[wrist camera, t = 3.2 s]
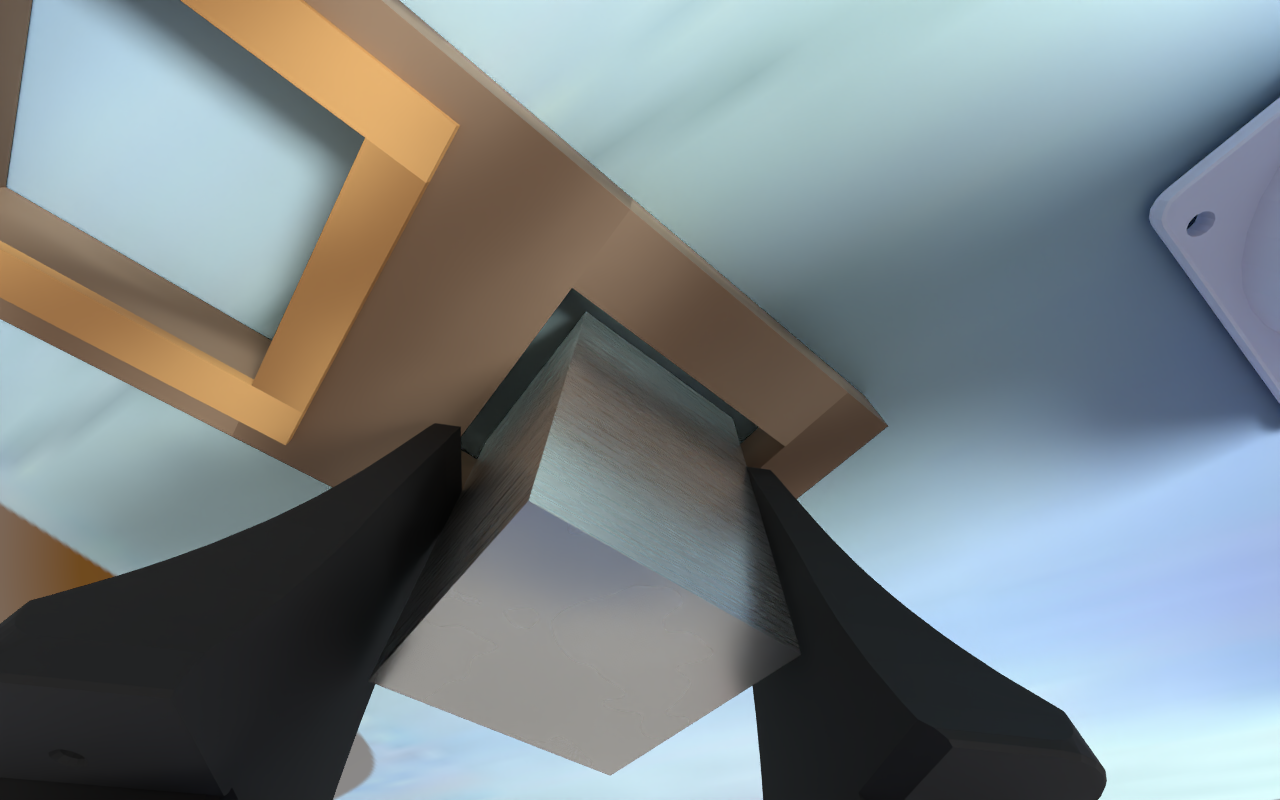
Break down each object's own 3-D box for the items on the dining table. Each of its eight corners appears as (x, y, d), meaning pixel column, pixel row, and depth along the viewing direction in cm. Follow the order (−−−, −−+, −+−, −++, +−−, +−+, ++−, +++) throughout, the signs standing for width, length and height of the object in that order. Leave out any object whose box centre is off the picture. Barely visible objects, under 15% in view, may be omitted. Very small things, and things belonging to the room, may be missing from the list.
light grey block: (732, 417, 14) (801, 654, 8) (624, 522, 16) (610, 775, 10) (586, 311, 12) (528, 500, 6) (486, 440, 14) (367, 681, 8)
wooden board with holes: (864, 395, 13) (891, 430, 12) (626, 597, 18) (624, 641, 16) (-45, -378, 7) (-224, -506, 6) (-82, 216, 11) (-191, 231, 10)
